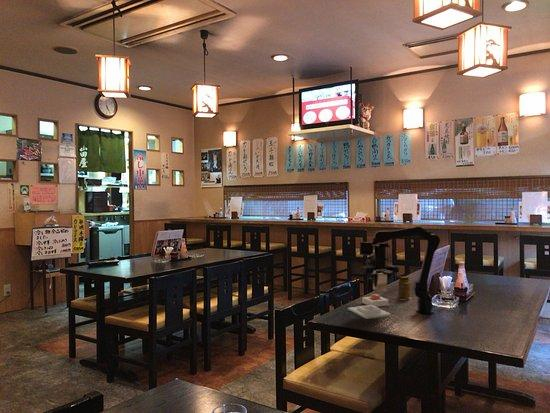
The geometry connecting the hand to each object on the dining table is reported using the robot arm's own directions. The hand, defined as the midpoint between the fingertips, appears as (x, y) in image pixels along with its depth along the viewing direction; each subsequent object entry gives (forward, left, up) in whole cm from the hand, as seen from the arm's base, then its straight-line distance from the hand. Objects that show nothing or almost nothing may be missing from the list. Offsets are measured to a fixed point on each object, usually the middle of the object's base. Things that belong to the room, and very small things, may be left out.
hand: (379, 286), depth 219 cm
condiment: (+20, -27, -13) cm, 36 cm away
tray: (-1, +7, -12) cm, 14 cm away
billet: (0, 0, -2) cm, 2 cm away
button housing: (+13, -5, -12) cm, 18 cm away
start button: (+13, -5, -11) cm, 17 cm away
